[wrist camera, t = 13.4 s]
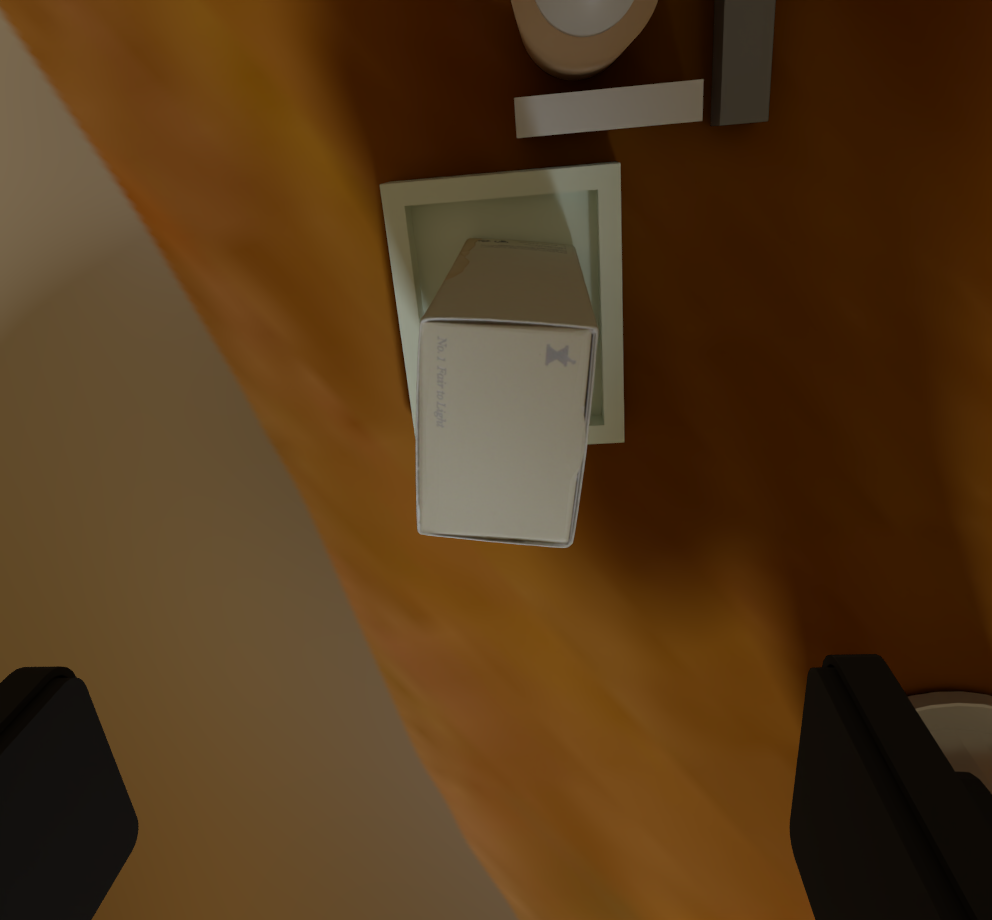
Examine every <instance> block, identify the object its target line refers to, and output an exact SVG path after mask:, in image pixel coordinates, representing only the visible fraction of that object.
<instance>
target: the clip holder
mask: <svg viewBox="0 0 992 920" xmlns="http://www.w3.org/2000/svg"><path fill="white" fill-rule="evenodd" d="M775 3H776V0H715V1H714V32H713V63H712V94H711V125H710V126H721V125H732V124H743V123H754V122H765V121H768V117H769V100H770V84H771V68H772V52H773V36H774V19H775ZM703 84H704V79H699V80H689V81H679V82H668V83H658V84H648V85H638V86H628V87H618V88H608V89H598V90H588V91H577V92H567V93H557V94H547V95H537V96H527V97H517V98H514V106H515V120H516V135H517V138H525V137H536V136H547V135H557V134H568V133H579V132H589V131H600V130H611V129H622V128H632V127H643V126H654V125H664V124H675V123H686V122H696V121H702V120H703Z"/></svg>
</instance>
